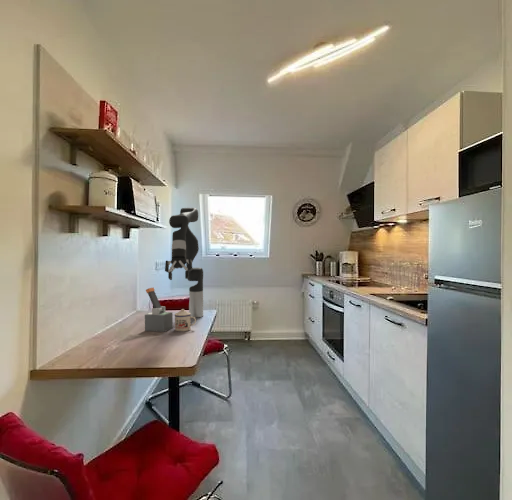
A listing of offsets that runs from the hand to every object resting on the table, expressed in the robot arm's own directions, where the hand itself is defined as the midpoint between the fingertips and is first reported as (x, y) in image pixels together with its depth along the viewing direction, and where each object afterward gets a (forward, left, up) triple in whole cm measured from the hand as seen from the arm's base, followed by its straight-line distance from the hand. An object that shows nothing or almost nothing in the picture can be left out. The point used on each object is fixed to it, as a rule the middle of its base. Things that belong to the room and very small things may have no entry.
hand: (178, 279), depth 188 cm
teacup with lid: (-11, +10, -30) cm, 33 cm away
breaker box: (-22, -1, -30) cm, 37 cm away
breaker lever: (-22, 0, -20) cm, 30 cm away
